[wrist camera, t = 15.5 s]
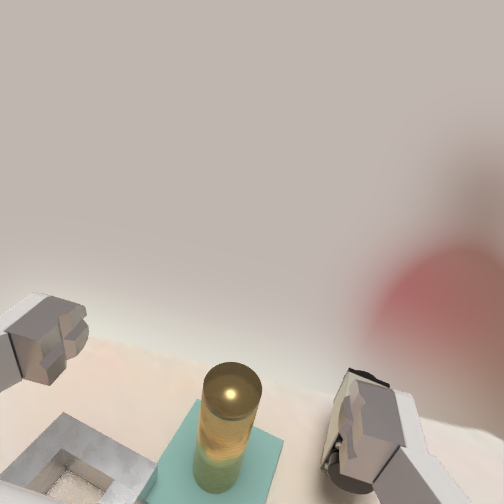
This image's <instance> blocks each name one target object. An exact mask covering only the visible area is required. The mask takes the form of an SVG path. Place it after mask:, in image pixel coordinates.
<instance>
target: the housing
mask: <svg viewBox="0 0 504 504" xmlns="http://www.w3.org/2000/svg"><path fill="white" fill-rule="evenodd" d="M66 469H68V470H70V471H72V472H73V473H75V474H77V475H78V476H80V477H81V478H83V479H85V480H86V481H88V482H90V483H91V484H93V485H95V486H96V487H98V488H100V489H101V490H103V491H104V492H105V494H104V495H103V496H102V498H101V499H100V501H99V502H98V504H145V500H146V499H147V497H148V495H149V494H150V492H151V490H152V489H153V487H154V485H155V483H156V482H157V475H158V464H156V463H154V462H152V461H150V460H149V459H147V458H145V457H143V456H141V455H140V454H138V453H136V452H134V451H132V450H131V449H129V448H127V447H125V446H124V445H122V444H120V443H118V442H116V441H115V440H113V439H111V438H109V437H107V436H106V435H104V434H102V433H100V432H98V431H97V430H95V429H93V428H91V427H89V426H88V425H86V424H84V423H82V422H80V421H79V420H77V419H75V418H73V417H71V416H70V415H68V414H66V413H64V412H63V413H62V414H61V415H60V416H59V417H58V418H57V419H56V420H55V421H54V422H53V423H52V424H51V425H50V426H49V427H48V428H47V429H46V430H45V431H44V432H43V433H42V434H41V435H40V436H39V437H38V438H37V439H36V440H35V441H34V442H33V443H32V444H31V445H30V446H29V447H28V448H27V449H26V450H25V451H24V452H23V453H22V454H21V455H20V456H19V457H18V458H17V459H16V460H15V461H14V462H13V463H12V464H11V465H10V466H9V467H8V468H7V469H6V470H5V471H3V472H2V473H1V474H0V480H2V481H5V482H8V483H11V484H14V485H17V486H20V487H23V488H26V489H29V490H32V491H35V492H38V493H41V494H44V495H45V494H46V493H47V491H48V490H49V489H50V488H51V487H52V486H53V484H54V483H55V482H56V481H57V480H58V478H59V477H60V476H61V475H62V474H63V473H64V471H65V470H66Z"/></svg>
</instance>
